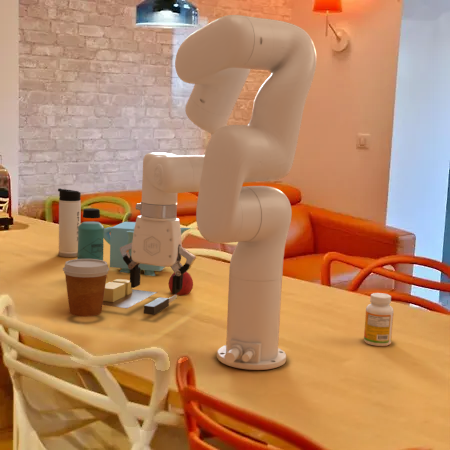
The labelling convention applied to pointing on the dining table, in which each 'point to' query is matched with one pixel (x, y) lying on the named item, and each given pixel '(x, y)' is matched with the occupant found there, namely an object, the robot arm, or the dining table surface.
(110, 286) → the butter
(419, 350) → the dining table surface
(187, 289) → the onion
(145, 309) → the knife
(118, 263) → the teakettle
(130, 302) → the board
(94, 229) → the beverage bottle
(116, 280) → the butter slice
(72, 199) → the travel mug
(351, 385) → the dining table surface
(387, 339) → the supplement bottle
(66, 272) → the disposable coffee cup
